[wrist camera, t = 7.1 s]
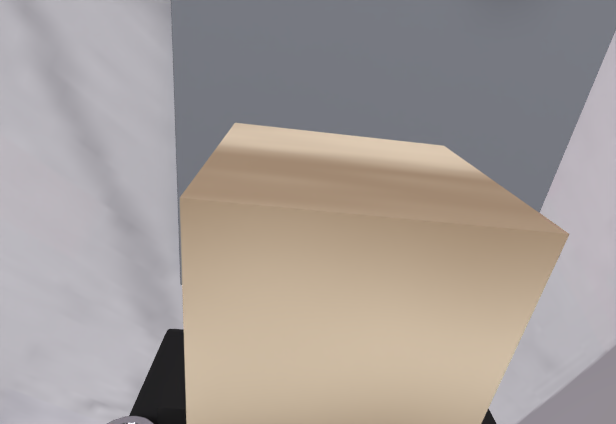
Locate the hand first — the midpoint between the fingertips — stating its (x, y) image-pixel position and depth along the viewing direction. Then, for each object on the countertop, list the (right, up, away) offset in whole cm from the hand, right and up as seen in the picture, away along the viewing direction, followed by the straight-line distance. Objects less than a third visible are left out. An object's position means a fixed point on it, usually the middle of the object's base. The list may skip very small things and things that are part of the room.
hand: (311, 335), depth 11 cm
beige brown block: (0, 0, 0) cm, 0 cm away
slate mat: (+4, +7, +11) cm, 13 cm away
